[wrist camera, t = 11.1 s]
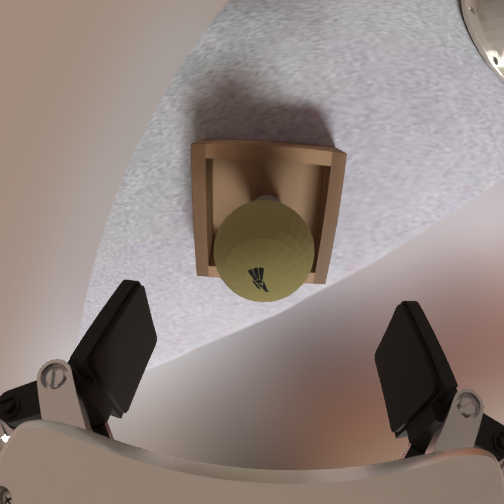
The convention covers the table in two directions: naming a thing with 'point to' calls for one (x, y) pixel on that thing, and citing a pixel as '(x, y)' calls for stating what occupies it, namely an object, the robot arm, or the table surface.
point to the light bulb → (264, 250)
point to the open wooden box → (266, 190)
